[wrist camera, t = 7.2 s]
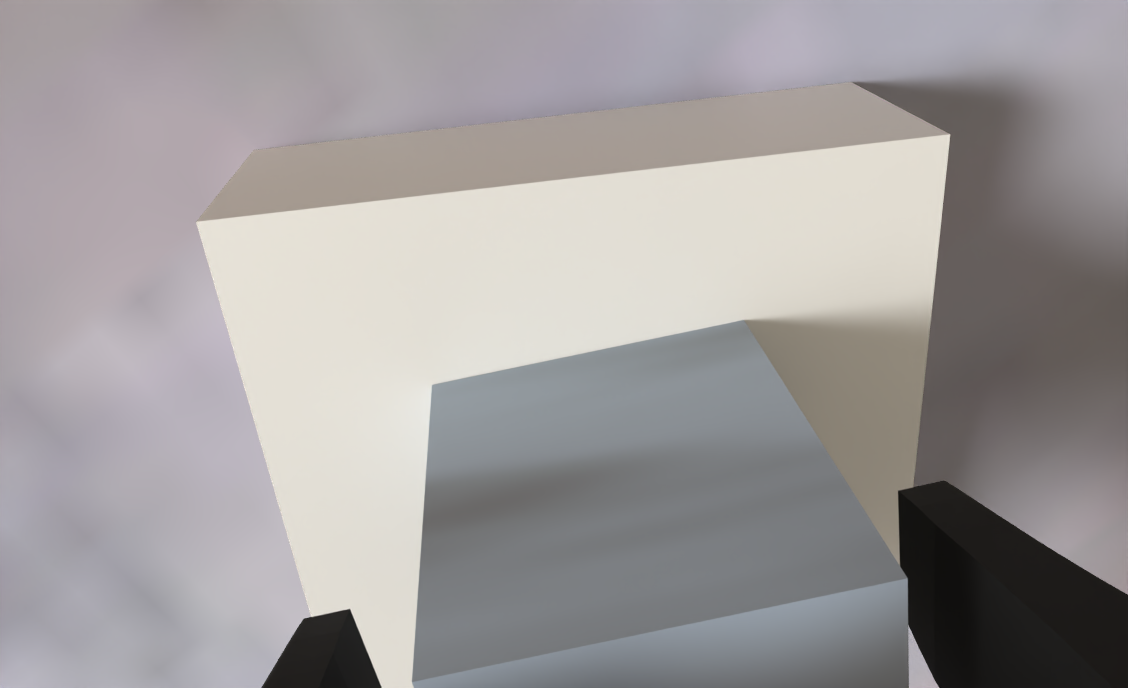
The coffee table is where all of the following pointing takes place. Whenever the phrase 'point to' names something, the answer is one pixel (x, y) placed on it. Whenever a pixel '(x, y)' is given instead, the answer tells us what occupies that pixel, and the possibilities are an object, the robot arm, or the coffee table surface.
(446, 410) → the block
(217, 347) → the coffee table surface
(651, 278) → the base box
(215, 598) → the coffee table surface
